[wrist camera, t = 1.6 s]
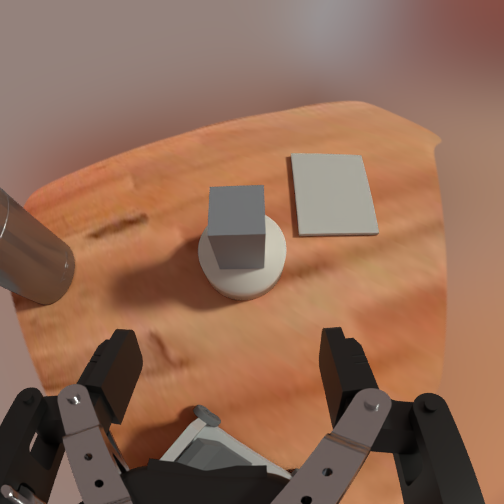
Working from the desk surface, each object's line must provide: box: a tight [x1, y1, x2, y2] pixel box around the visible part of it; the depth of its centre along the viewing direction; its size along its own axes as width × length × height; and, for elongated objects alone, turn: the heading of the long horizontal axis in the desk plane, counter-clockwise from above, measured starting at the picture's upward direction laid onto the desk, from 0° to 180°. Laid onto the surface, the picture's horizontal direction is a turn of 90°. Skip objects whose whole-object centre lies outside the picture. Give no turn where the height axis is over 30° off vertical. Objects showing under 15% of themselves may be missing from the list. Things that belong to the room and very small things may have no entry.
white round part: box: [198, 215, 286, 300], centre depth 34 cm, size 9×9×4 cm
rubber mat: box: [291, 153, 379, 236], centre depth 38 cm, size 10×12×1 cm
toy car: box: [160, 405, 299, 480], centre depth 22 cm, size 18×10×12 cm
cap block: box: [207, 185, 266, 269], centre depth 28 cm, size 4×4×8 cm
